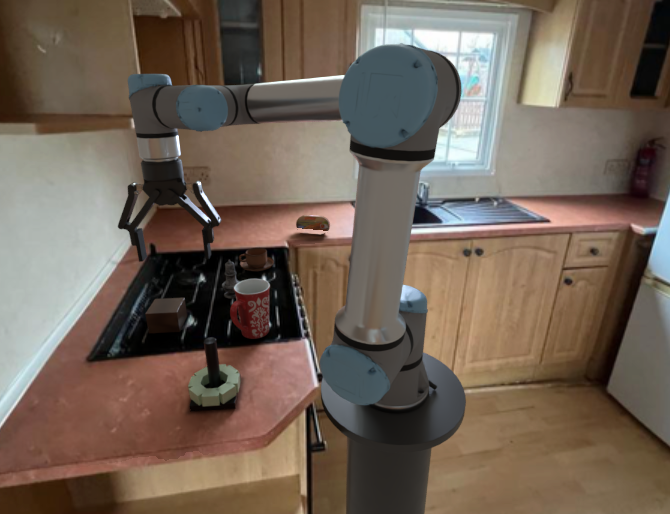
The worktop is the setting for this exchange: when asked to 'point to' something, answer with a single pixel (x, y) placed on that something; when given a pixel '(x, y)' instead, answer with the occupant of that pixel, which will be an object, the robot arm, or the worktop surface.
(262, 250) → the cup and saucer
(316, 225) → the tin
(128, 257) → the worktop surface
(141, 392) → the worktop surface
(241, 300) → the mug
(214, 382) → the stand
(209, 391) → the ring disc
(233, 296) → the grey chess piece
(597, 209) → the worktop surface
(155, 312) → the riser
